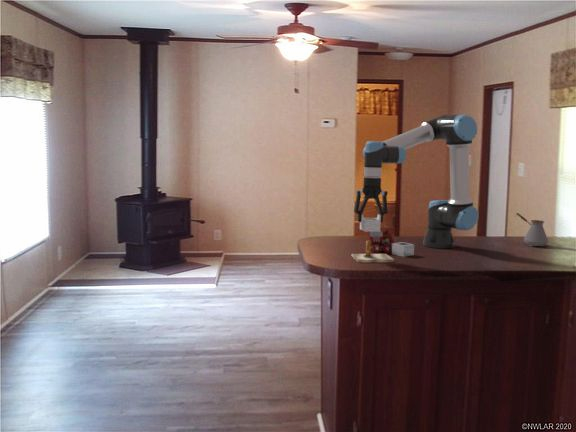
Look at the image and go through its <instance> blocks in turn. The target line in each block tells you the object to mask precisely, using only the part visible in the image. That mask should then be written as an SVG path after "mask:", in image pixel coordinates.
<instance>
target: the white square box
mask: <svg viewBox="0 0 576 432" xmlns="http://www.w3.org/2000/svg"><path fill="white" fill-rule="evenodd" d="M381 223H382V222H381V220H379V219H377V217H364V219H363V230H362V231H363V232H366V233H368V232H380V230H381Z"/></svg>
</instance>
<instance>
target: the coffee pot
mask: <svg viewBox="0 0 576 432" xmlns="http://www.w3.org/2000/svg"><path fill="white" fill-rule="evenodd" d="M515 215H516V217H517V216H518V217H520V219H521V220H523V221H524V222H525V223H527V224H528V225H529V226H530V227H529V229H528V231H527V232H526V235H525V236H524V237H523V241H524V243H525V244H526V245H527V246H528V245H532V246H544V247H545V246H547V244H548V243H549V240H548V238H547V237H548V236H547V233H546V232H545V229H544V226H543V225H544V223H545V221H544V220H538V219H537V220H536V219H532V220H530V221H528V220H527V219H526V218H525V217H524V216H523V215H521V214H520V213H519V212H516V213H515ZM532 246H531V247H532Z"/></svg>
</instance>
